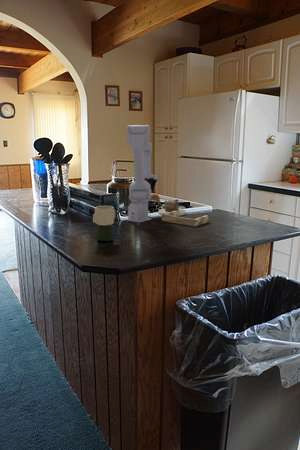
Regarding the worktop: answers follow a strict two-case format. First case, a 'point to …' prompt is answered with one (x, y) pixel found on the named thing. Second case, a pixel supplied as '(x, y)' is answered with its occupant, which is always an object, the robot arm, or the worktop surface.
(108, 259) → the worktop surface
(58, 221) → the worktop surface
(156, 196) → the lion figurine
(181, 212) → the ceramic plate
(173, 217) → the wooden u-shaped frame
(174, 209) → the walnut block
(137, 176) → the robot arm
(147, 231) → the worktop surface
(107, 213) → the character mug
